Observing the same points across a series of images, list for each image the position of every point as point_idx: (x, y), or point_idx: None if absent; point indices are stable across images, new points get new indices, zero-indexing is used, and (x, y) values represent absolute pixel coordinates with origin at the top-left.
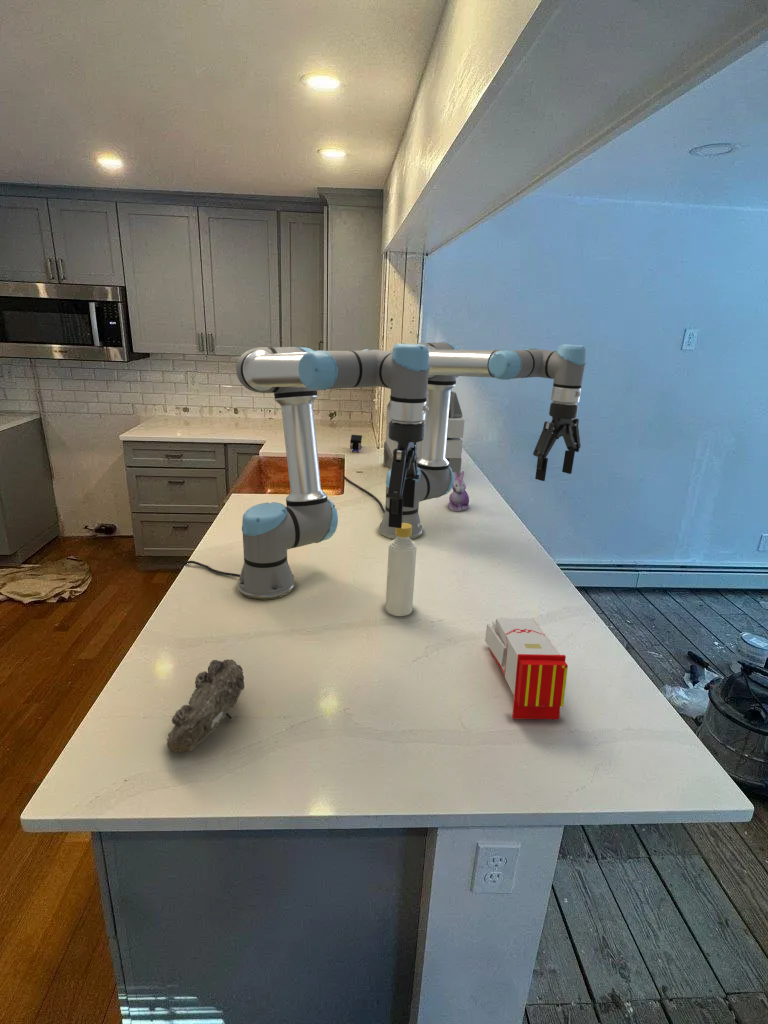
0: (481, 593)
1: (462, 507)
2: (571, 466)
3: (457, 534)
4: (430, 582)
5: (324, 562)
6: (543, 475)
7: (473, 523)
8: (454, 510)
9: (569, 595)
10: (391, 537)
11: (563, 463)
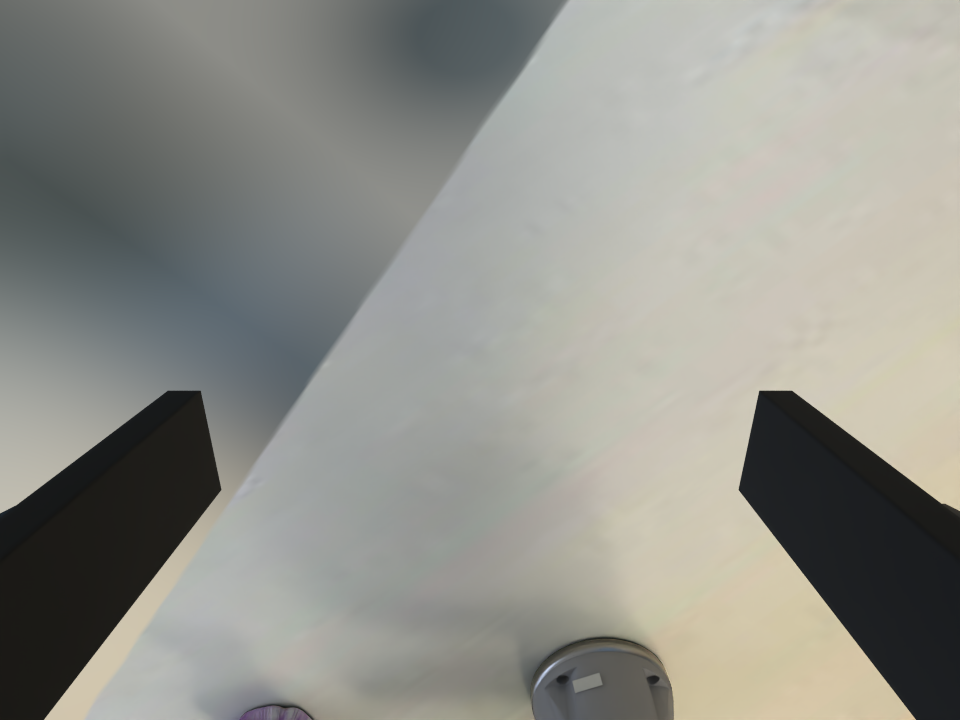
0: (798, 263)
1: (276, 718)
2: (133, 440)
3: (457, 597)
4: (844, 414)
5: None
6: (836, 430)
7: (332, 626)
8: (308, 717)
9: (561, 34)
10: (666, 673)
11: (164, 562)
